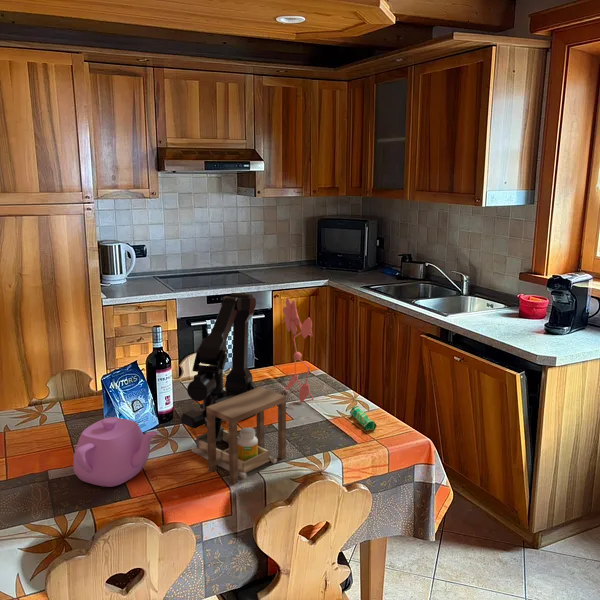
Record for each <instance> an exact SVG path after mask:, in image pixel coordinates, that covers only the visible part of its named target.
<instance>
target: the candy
mask: <svg viewBox="0 0 600 600" xmlns="http://www.w3.org/2000/svg"><path fill="white" fill-rule="evenodd" d="M349 411H350V412H349V413H350V416H352V417H353V418H355V419H356V420H357V422H358V423H359V424H360V426H362V427H363V428H364V429H365V430H366V432H368V431H372V432H374V431H375V430H376V428H377V426H378V425H377V423H375V421H374V420H373V419H371V418H370V417H369V415H367V414H366V412H364V411H363V410H362V409H361V408H360V406H359V405H356V406H353V407H352V408H351V410H349Z"/></svg>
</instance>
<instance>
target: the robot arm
mask: <svg viewBox="0 0 600 600" xmlns="http://www.w3.org/2000/svg"><path fill="white" fill-rule="evenodd" d="M220 303H221V304H220V305H221V307H220V309H219V312H218V315H216V316H217V317H216V319H215V321H214V324H213V326H212V329H211V332H210V333H209V335H207V336H206V337H204V338H203V339H202V341H201V342H200V345H199V346H197V350H196V352H195V358H194V361H193V366H192V370H191V371H192V372H194V373H195V372H196V373H197V374H195V375H193V379H192V380H191V382H189V383H188V386H187V388H186V391H187V392H186V393H187V395H188V396H189V398H191V400H193V401H195V402H202V403H200V404H199V407H200V408H201V409H202V410H201V411H197V410H195V409H190V410H188V411H185V412H182V414H181V415H180V424H183V425H185V426H187V427H189V428H191V429H197V428H200V427H203V426H204V427H205V428H206V429H207V410H206V407H207V406H210V405H213V404H215V403H218V402H221V401H223V400H226V399H229V398H231V397H234V396H237V395H239V394H242V393H245V392H247V391H250V390H253V389H255V388H257V386H256V385H255V382H254V381H253V373H252V372H251V371H250V368H249V367H248V366H249V365H248V361H249V358H248V357H249V356H248V355H249V354H248V353H249V352H248V351H249V323H250V320H251V318H252V317H253V315H254V313H255V309H256V305H257V300H256V298H255V297H254V296H253V294H252V293H243V292H241V293H239V292H231V294H230V295H226V296H224V297H222V299H221V302H220ZM231 329H232V358H231V361H232V364H231V365H232V366H231V370H230V371H229V372H228V373H227V374H226V377H225V380H226V381H225V383H224V371H223V370H224V369H225V366H226V363H227V359H228V357H229V354H228V351H229V350H228V347H227V344H226V343H227V340H228V338H229V335H230V331H231ZM203 364H204V365H203ZM224 389H225V390H224ZM255 415H256V414H255ZM255 415H253V416H255ZM253 416H250V417H248V418H245V419H243V420H242V421H244V420H246V419H249V418H251V417H253ZM223 422H226V421H225V420H222V419H220V418H218V417H216V416H215V434H216V439H217V436H218V433H219V430H220V428H221V427H222V426H223V425H222V424H223Z"/></svg>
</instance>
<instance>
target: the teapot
mask: <svg viewBox="0 0 600 600" xmlns="http://www.w3.org/2000/svg"><path fill="white" fill-rule="evenodd" d="M158 434H159V432H158V431H149V432H146V433H145V434H144V433H143V431H142V429H141V427H140V425H139V424H138V422H136V421H134V420H132V419H131V420H130V419H126V418H123V417H122V418H121V417H114V416H112V417H106V418H103V419H100V420H98V421H96V422H94V423H92V424H90V425H89V426H88V427H86V428H85V429H84V430H83V431H82V432H81V434H80V436H79V438H78V442H77V444H76V447H75V450H74V454H73V461H72V462H73V465H72V466H73V472H74V474H75V476H76V477H77V478H79V480H81V481H82V482H84V483H88V484H90V485H94V486H100V487H107V488H109V487H110V488H111V487H116V486H119V485H121V484H123V483H126V482H127V481H129V480H132V479H133V478H135V477H136V476H137V475H138V474H139V473H140V472H141V471H142V470H143V469H144V467H145V465H146V464H147V462H148V460H149V457H150V452H151V441H152V439H153V437H154V436H156V435H158Z"/></svg>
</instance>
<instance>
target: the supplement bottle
mask: <svg viewBox="0 0 600 600" xmlns="http://www.w3.org/2000/svg"><path fill="white" fill-rule="evenodd" d="M238 437H239V438H238V459H240V460H242V461H244V462H245V461H247V460H249V459H251V458H253V457H255V456H257V455H258V439H257V436H256V429H254V428H253V427H243V428H241V429H240V430H239V436H238Z"/></svg>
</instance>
